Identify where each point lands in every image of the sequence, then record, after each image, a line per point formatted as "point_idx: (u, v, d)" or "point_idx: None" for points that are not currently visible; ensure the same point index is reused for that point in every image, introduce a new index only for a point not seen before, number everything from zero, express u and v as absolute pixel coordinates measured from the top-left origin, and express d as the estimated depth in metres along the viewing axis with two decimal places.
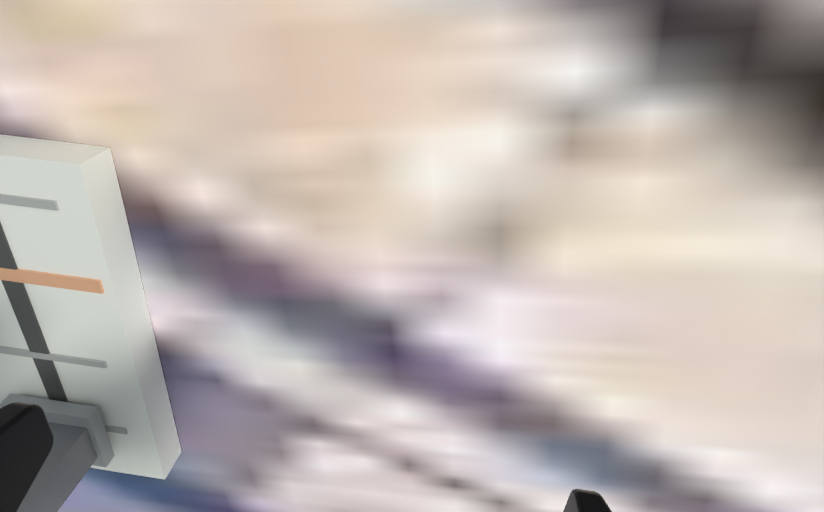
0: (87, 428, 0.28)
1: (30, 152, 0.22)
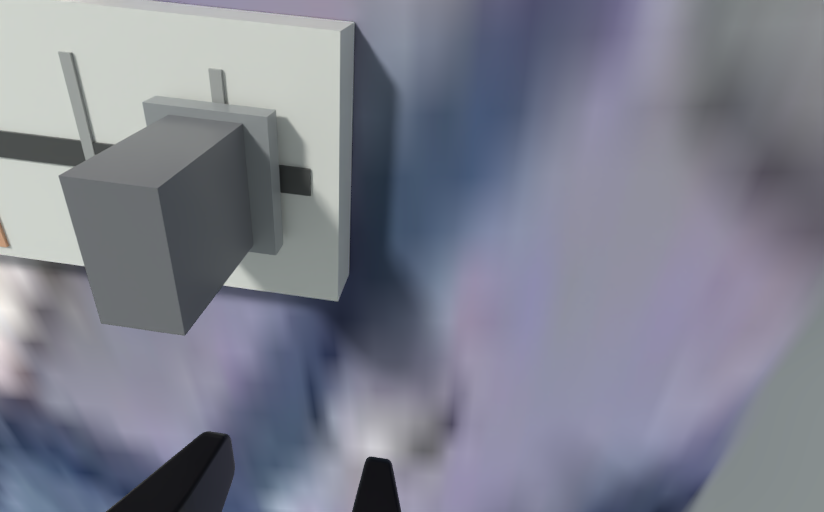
0: (168, 115, 0.17)
1: None
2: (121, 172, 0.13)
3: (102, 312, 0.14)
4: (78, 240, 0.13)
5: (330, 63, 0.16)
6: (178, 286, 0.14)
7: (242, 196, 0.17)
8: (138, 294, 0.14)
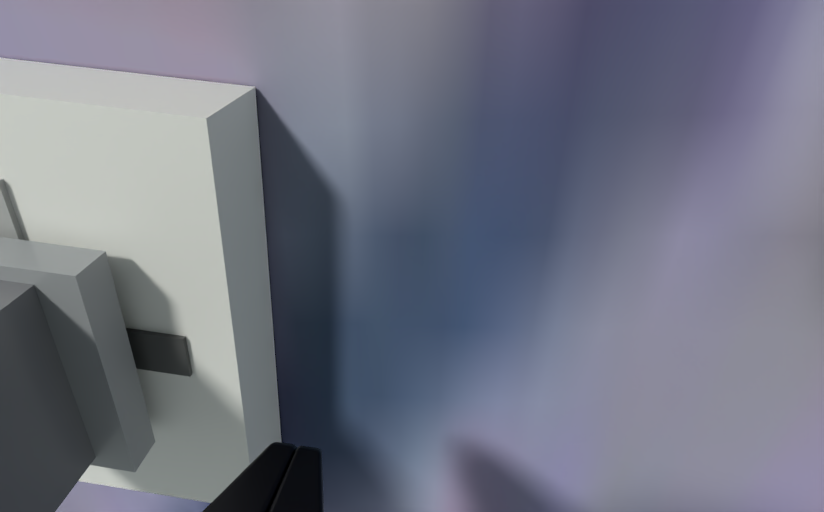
0: None
1: None
2: None
3: None
4: None
5: (195, 174, 0.09)
6: None
7: (49, 403, 0.09)
8: None
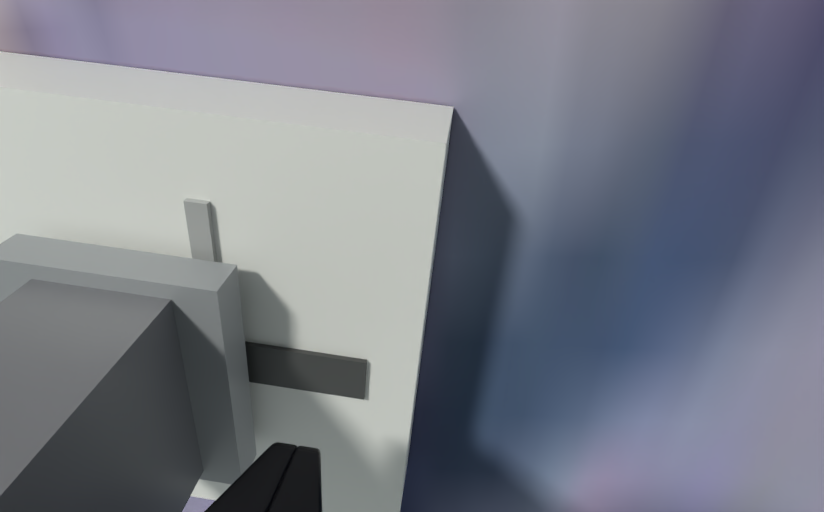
0: (32, 279, 0.09)
1: None
2: None
3: None
4: None
5: (420, 199, 0.08)
6: None
7: (175, 419, 0.09)
8: None
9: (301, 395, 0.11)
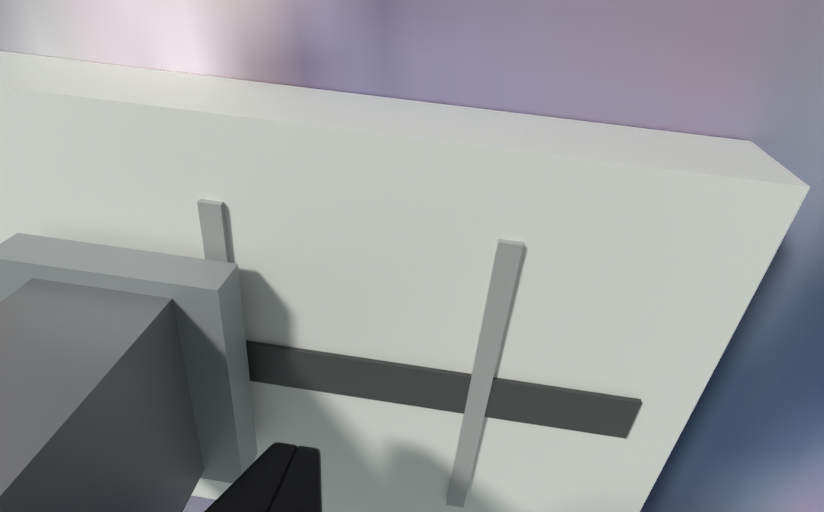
0: (33, 278, 0.09)
1: None
2: None
3: None
4: None
5: (759, 241, 0.08)
6: None
7: (176, 418, 0.09)
8: None
9: (554, 432, 0.11)
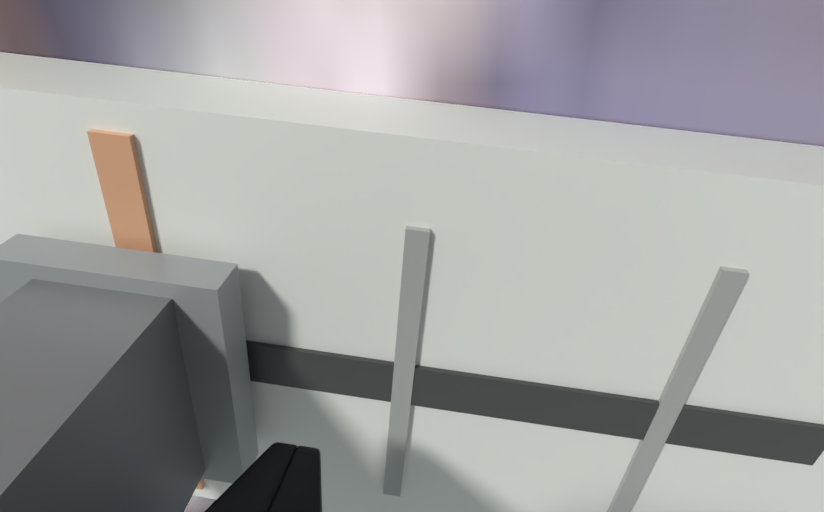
0: (33, 279, 0.09)
1: None
2: None
3: None
4: None
5: None
6: None
7: (177, 418, 0.09)
8: None
9: (734, 458, 0.10)
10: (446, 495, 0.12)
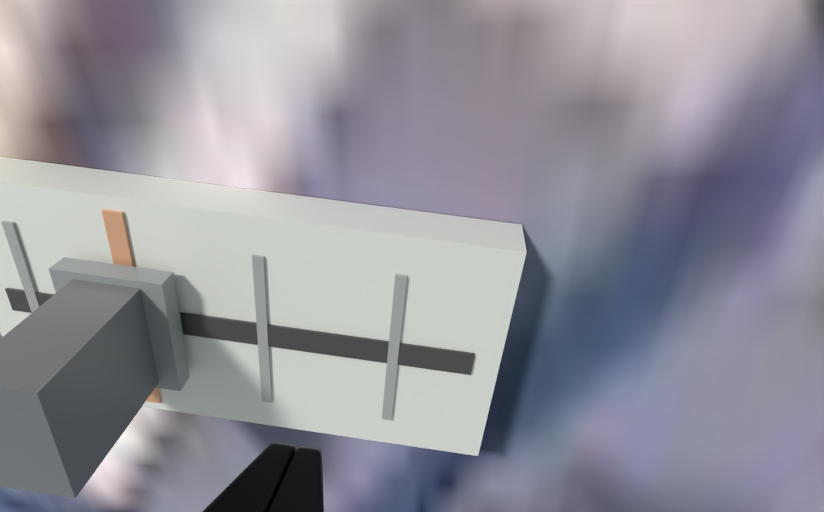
0: (73, 279, 0.18)
1: None
2: (9, 371, 0.14)
3: None
4: None
5: (512, 275, 0.18)
6: (65, 461, 0.15)
7: (142, 348, 0.19)
8: (30, 467, 0.16)
9: (435, 373, 0.20)
10: (297, 402, 0.22)
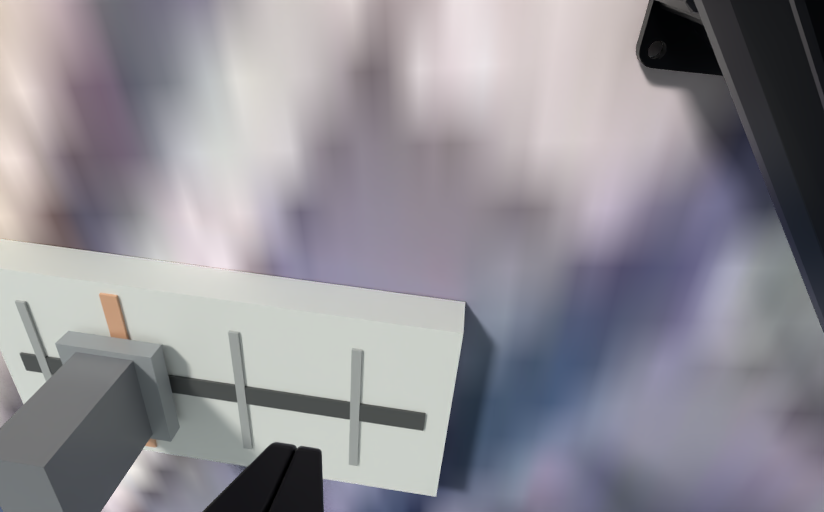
0: (75, 352, 0.21)
1: None
2: (21, 446, 0.17)
3: None
4: None
5: (452, 351, 0.20)
6: None
7: (136, 409, 0.22)
8: None
9: (392, 428, 0.23)
10: None
